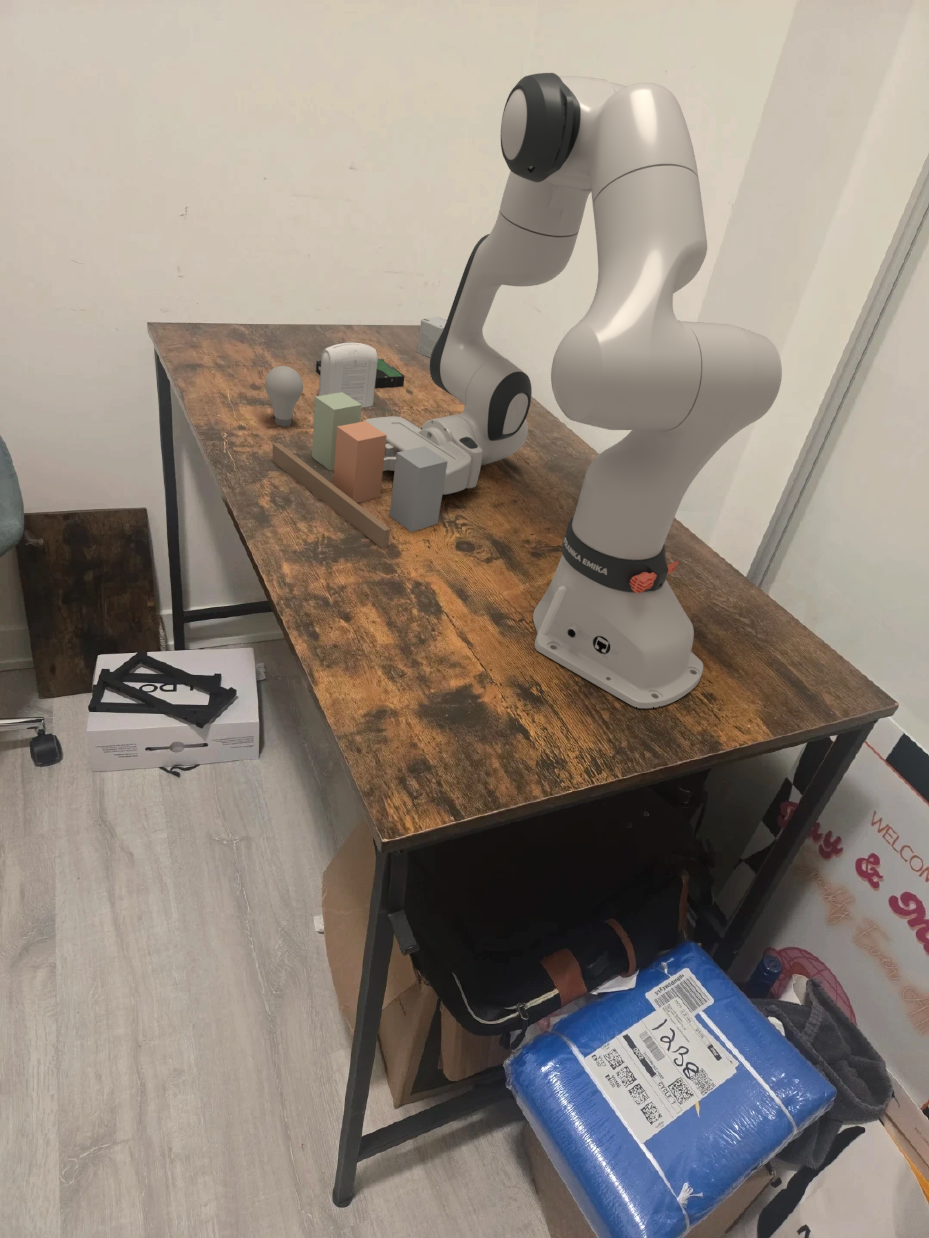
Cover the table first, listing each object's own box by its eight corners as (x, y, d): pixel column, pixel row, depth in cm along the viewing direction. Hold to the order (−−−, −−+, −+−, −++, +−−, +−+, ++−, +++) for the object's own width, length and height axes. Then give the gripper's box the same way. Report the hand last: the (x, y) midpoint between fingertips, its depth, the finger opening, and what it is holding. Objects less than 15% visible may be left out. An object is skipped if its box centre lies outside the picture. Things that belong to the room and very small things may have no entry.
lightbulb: (287, 420, 137) (289, 358, 131) (308, 434, 134) (311, 371, 127) (257, 426, 133) (257, 363, 127) (277, 441, 130) (279, 376, 124)
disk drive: (336, 395, 151) (404, 388, 159) (337, 380, 149) (405, 375, 157) (314, 374, 158) (380, 369, 165) (315, 360, 156) (381, 356, 163)
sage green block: (356, 464, 125) (361, 404, 119) (330, 470, 122) (334, 409, 116) (338, 451, 128) (342, 392, 122) (311, 457, 125) (315, 396, 119)
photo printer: (365, 404, 148) (371, 338, 141) (375, 413, 146) (382, 346, 138) (314, 408, 143) (318, 340, 136) (324, 418, 140) (329, 349, 133)
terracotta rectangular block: (379, 497, 118) (386, 435, 112) (352, 504, 115) (357, 441, 109) (360, 482, 121) (365, 421, 115) (332, 489, 118) (337, 426, 112)
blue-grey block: (437, 523, 114) (447, 461, 108) (410, 532, 111) (419, 468, 105) (415, 508, 117) (424, 446, 111) (389, 515, 114) (396, 452, 108)
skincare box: (454, 357, 177) (459, 324, 173) (436, 362, 173) (441, 328, 169) (434, 348, 180) (439, 315, 175) (416, 352, 176) (420, 319, 171)
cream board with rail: (475, 526, 118) (480, 501, 116) (373, 559, 107) (376, 533, 104) (364, 448, 133) (366, 425, 131) (264, 470, 122) (265, 445, 119)
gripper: (404, 402, 129) (334, 414, 120) (489, 454, 118) (418, 472, 109) (400, 437, 132) (331, 452, 124) (482, 492, 121) (413, 512, 113)
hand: (373, 462), depth 117 cm, fingers closed, pressing on terracotta rectangular block
